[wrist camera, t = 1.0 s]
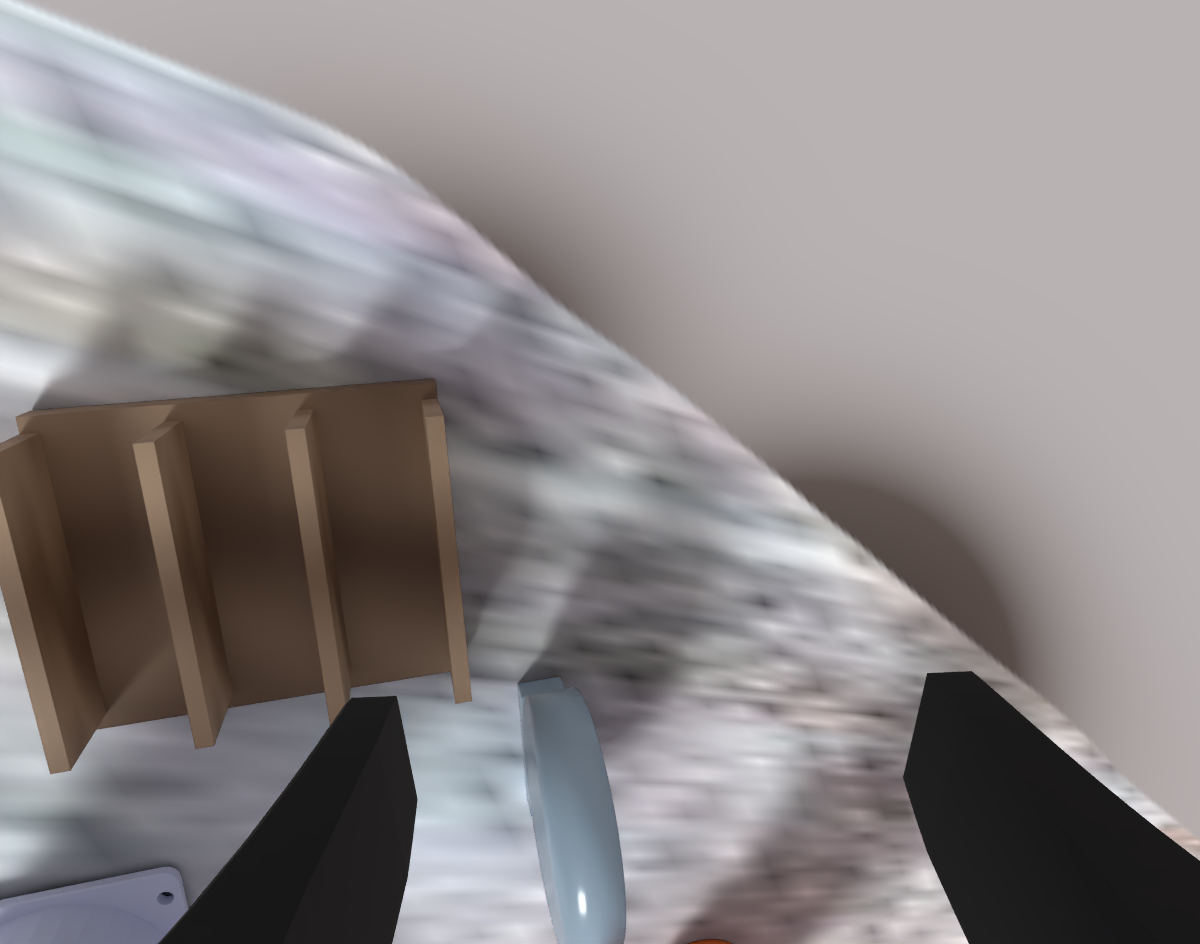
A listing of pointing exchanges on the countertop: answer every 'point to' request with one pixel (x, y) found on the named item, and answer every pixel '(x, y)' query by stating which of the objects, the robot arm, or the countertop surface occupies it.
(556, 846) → the grey rounded disc
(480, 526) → the countertop surface
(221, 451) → the rack
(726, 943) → the paper cup
